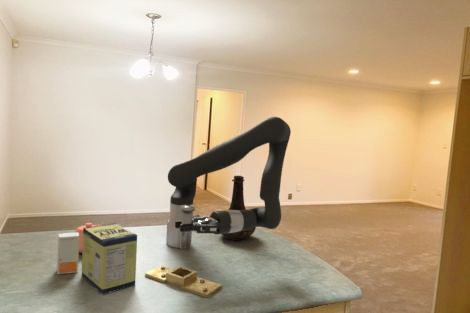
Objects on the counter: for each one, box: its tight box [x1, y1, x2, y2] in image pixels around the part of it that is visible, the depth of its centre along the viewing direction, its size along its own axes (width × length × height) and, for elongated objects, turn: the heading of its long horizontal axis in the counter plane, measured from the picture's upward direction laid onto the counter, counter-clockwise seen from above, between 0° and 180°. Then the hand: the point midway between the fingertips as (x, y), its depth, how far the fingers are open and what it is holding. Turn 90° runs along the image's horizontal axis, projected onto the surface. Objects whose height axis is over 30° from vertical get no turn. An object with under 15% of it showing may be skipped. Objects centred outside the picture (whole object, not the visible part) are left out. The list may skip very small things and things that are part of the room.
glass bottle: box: [221, 175, 257, 241], centre depth 157 cm, size 18×18×28 cm
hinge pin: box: [179, 205, 196, 251], centre depth 109 cm, size 4×4×13 cm
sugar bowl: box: [74, 222, 101, 254], centre depth 131 cm, size 12×14×10 cm
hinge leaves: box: [144, 265, 223, 299], centre depth 109 cm, size 24×8×3 cm, turn 61°
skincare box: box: [56, 232, 80, 275], centre depth 111 cm, size 6×4×12 cm
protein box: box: [81, 222, 138, 295], centre depth 106 cm, size 10×16×16 cm
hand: (178, 226), depth 107 cm, fingers closed on hinge pin, 3 cm apart
